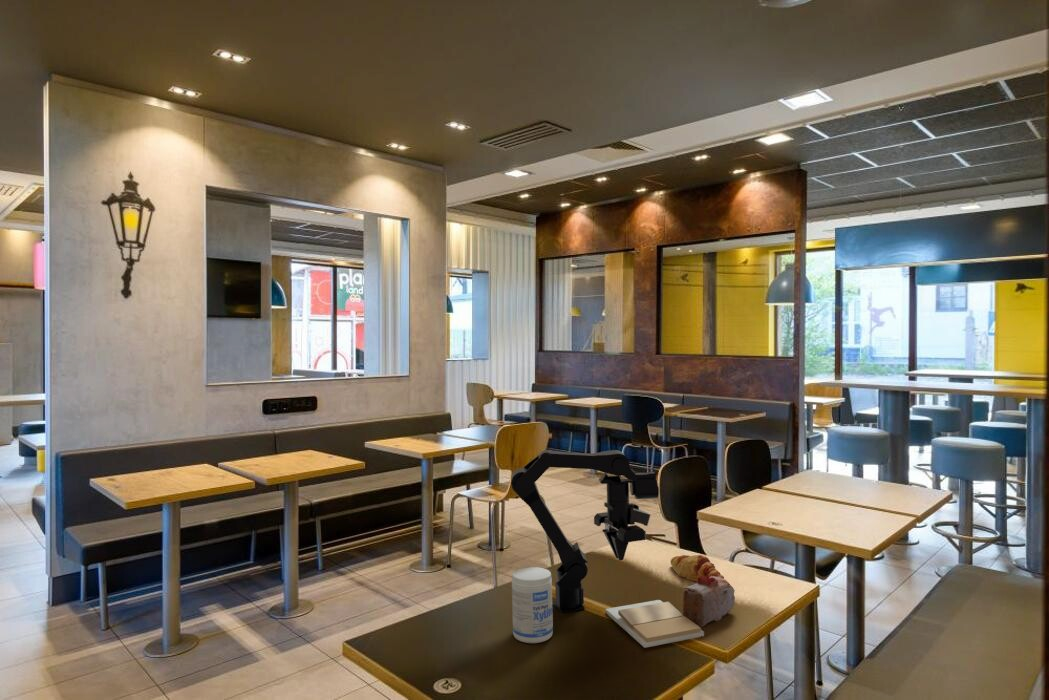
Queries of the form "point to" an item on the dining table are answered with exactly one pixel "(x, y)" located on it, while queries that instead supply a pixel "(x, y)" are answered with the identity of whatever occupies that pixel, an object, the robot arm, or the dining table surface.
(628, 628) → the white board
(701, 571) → the croissant
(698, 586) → the food item
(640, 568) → the dining table surface
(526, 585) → the supplement tub
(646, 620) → the click plank
